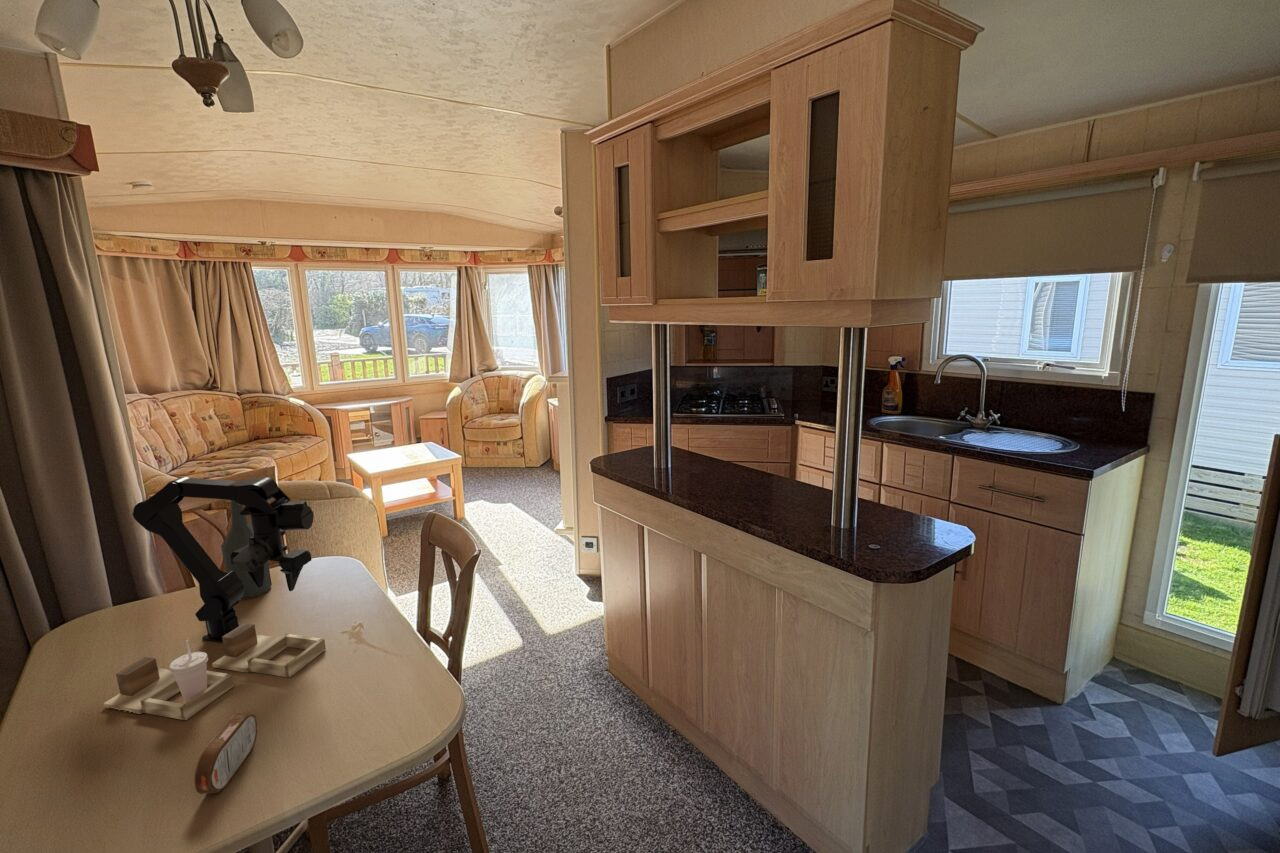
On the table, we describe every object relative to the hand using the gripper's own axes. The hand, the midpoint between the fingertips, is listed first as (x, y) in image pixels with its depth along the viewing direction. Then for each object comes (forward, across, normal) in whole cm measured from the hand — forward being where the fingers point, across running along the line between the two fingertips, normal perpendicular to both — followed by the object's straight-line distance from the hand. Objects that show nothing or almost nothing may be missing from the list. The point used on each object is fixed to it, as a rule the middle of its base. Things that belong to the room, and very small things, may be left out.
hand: (275, 588), depth 148 cm
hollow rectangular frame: (+12, +6, -10) cm, 17 cm away
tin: (+12, +27, -40) cm, 50 cm away
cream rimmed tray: (+12, -4, -26) cm, 29 cm away
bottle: (+12, -26, +16) cm, 33 cm away
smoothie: (+12, +3, -26) cm, 29 cm away
